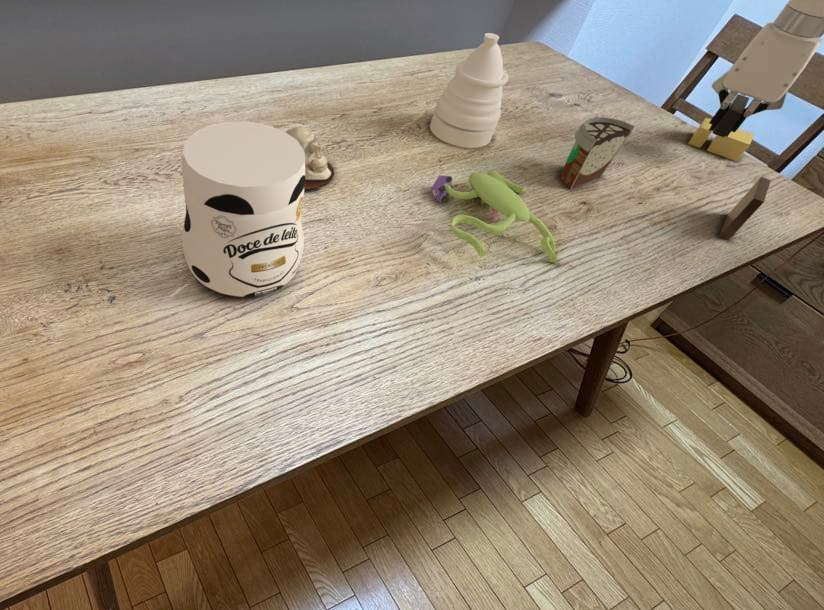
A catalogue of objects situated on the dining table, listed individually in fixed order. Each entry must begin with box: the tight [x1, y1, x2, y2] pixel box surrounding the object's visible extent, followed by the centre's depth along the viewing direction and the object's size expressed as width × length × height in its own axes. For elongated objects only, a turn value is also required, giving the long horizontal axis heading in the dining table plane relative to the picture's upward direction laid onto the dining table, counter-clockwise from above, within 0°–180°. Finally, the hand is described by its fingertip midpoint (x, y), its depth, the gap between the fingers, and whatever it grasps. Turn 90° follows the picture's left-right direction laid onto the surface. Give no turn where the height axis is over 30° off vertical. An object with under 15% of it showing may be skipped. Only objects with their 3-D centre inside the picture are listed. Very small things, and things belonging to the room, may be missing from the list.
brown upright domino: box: [718, 176, 772, 241], centre depth 91 cm, size 2×9×8 cm, turn 143°
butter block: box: [706, 128, 755, 162], centre depth 110 cm, size 6×6×4 cm
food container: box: [559, 116, 636, 190], centre depth 96 cm, size 12×6×10 cm, turn 123°
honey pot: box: [429, 32, 509, 149], centre depth 100 cm, size 13×13×18 cm
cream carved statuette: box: [285, 126, 335, 190], centre depth 92 cm, size 12×10×10 cm
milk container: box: [181, 121, 305, 299], centre depth 70 cm, size 17×17×18 cm
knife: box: [711, 93, 750, 137], centre depth 103 cm, size 17×2×4 cm, turn 143°
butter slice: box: [687, 117, 713, 149], centre depth 111 cm, size 2×6×4 cm, turn 143°
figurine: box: [431, 169, 558, 265], centre depth 87 cm, size 18×27×6 cm
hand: (719, 130), depth 103 cm, fingers closed on knife, 2 cm apart
